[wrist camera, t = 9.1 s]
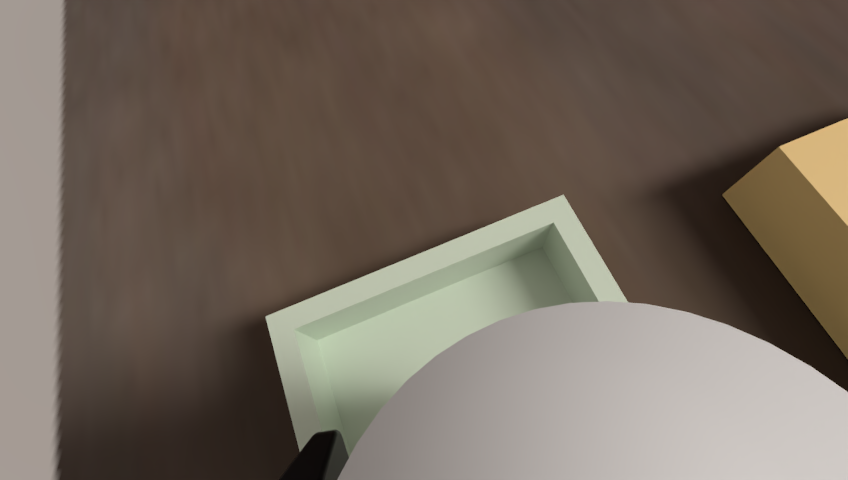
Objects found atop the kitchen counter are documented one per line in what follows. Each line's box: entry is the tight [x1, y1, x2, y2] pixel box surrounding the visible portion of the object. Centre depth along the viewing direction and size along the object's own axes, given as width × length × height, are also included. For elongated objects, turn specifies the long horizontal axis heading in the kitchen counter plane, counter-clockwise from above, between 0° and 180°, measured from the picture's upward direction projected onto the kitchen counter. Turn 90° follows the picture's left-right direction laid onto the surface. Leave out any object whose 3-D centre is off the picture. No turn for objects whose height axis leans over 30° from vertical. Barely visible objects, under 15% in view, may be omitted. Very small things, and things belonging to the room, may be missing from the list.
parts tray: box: [265, 195, 628, 457], centre depth 14 cm, size 14×11×3 cm
